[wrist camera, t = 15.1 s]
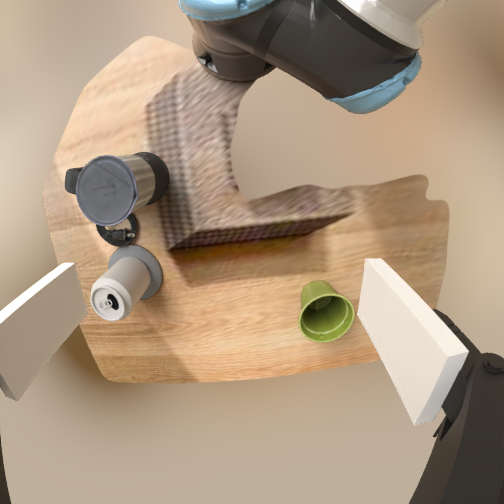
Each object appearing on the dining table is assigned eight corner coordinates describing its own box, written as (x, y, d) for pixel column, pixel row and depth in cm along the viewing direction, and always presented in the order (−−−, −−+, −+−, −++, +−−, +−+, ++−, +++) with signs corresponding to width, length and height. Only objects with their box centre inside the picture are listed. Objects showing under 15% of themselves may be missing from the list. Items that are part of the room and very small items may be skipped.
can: (157, 288, 52) (135, 322, 41) (124, 294, 53) (98, 327, 41) (144, 251, 50) (116, 278, 38) (110, 259, 50) (79, 286, 39)
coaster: (105, 245, 50) (103, 246, 50) (158, 243, 50) (156, 245, 49) (116, 297, 54) (114, 298, 53) (166, 298, 54) (164, 300, 53)
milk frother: (167, 147, 45) (131, 148, 31) (178, 238, 50) (151, 272, 36) (95, 162, 45) (45, 170, 31) (108, 244, 50) (67, 276, 36)
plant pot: (351, 289, 53) (365, 313, 45) (318, 324, 55) (327, 351, 47) (315, 261, 51) (326, 283, 43) (282, 299, 54) (286, 325, 45)
